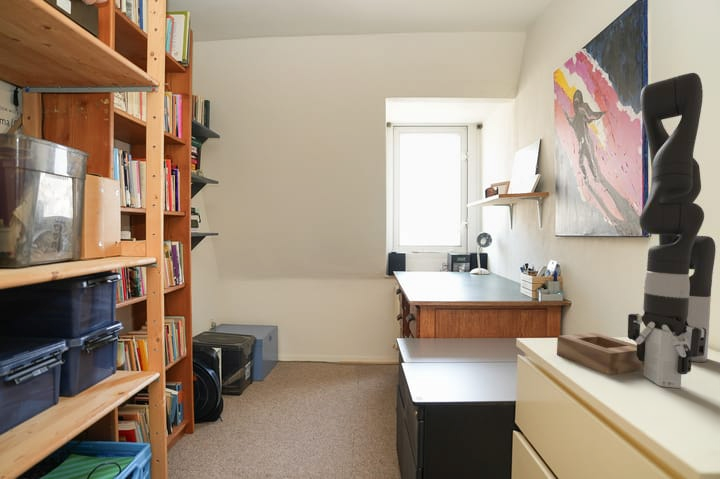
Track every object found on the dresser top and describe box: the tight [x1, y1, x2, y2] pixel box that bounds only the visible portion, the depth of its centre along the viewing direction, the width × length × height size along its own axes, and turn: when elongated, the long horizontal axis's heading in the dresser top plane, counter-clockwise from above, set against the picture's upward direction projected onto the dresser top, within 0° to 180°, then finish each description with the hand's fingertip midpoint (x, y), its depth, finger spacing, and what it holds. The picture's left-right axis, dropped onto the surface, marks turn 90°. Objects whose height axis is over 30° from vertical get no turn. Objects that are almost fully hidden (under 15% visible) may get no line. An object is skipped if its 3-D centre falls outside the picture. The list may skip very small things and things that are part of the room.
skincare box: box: [642, 328, 684, 389], centre depth 78 cm, size 6×4×12 cm
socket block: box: [556, 332, 644, 376], centre depth 90 cm, size 14×14×5 cm
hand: (661, 366), depth 78 cm, fingers closed on skincare box, 7 cm apart
